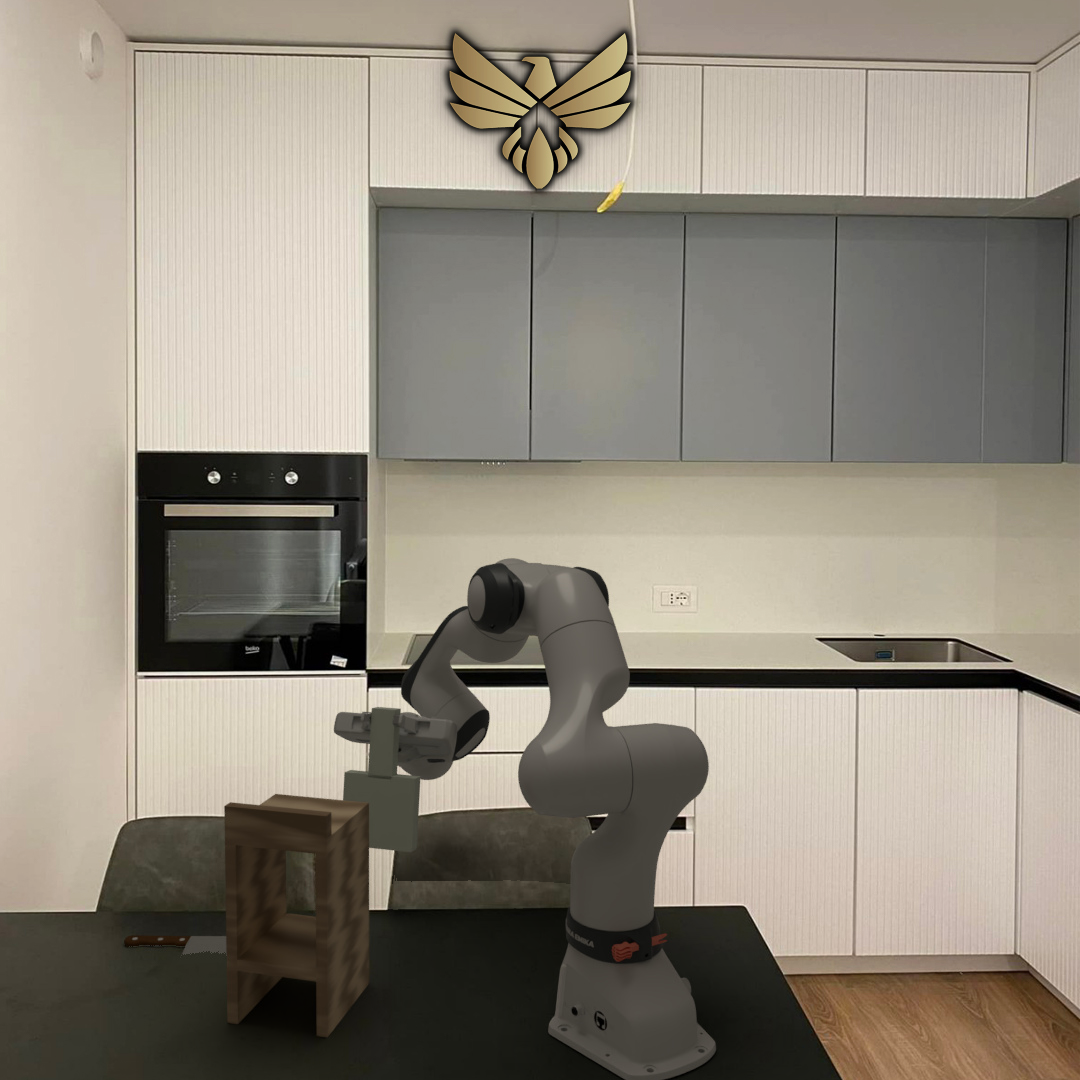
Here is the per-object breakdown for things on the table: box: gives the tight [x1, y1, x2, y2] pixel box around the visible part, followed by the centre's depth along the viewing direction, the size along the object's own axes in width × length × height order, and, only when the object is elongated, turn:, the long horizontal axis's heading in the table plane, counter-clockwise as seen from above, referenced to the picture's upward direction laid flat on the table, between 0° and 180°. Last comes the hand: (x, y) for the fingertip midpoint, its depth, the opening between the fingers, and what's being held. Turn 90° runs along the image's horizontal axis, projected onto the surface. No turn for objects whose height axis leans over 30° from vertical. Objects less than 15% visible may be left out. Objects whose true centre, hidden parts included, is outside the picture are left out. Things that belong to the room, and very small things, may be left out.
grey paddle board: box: [342, 706, 421, 853], centre depth 171 cm, size 22×12×2 cm
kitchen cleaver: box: [123, 934, 226, 957], centre depth 158 cm, size 24×1×10 cm
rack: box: [223, 793, 370, 1038], centre depth 143 cm, size 14×14×29 cm
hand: (381, 717), depth 170 cm, fingers closed on grey paddle board, 4 cm apart
